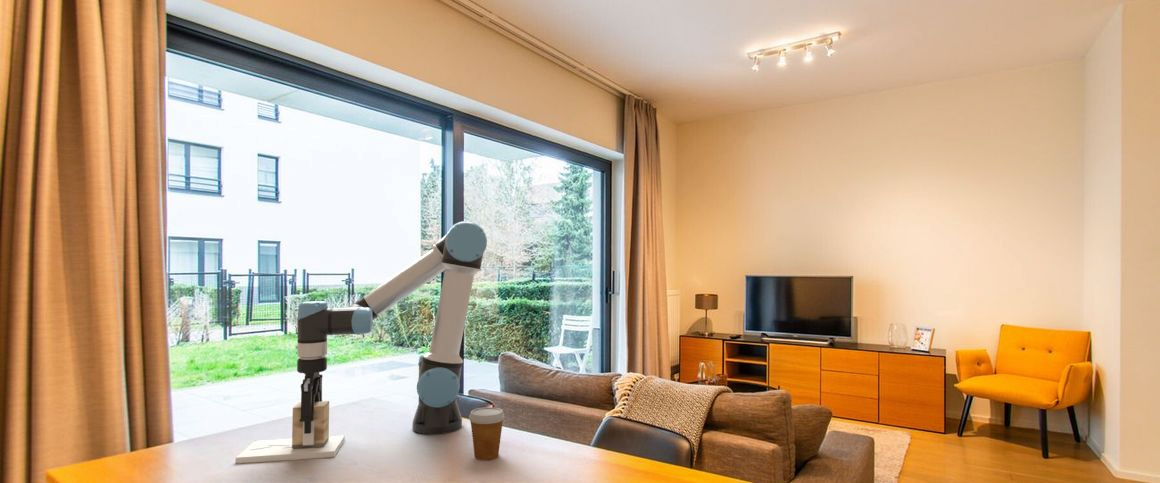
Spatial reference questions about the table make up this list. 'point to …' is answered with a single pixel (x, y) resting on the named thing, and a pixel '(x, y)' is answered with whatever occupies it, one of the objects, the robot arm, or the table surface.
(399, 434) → the table surface
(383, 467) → the table surface
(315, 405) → the block
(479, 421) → the disposable coffee cup
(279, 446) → the board
